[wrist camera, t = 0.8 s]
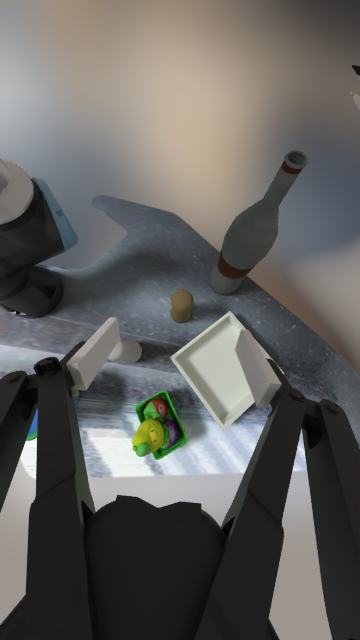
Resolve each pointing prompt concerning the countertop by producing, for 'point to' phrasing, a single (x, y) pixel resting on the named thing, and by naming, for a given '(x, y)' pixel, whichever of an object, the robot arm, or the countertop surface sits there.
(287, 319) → the countertop surface
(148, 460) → the countertop surface
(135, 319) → the countertop surface
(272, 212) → the bottle
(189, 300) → the cork
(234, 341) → the bin
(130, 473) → the countertop surface
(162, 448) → the fruit basket
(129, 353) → the salt shaker
